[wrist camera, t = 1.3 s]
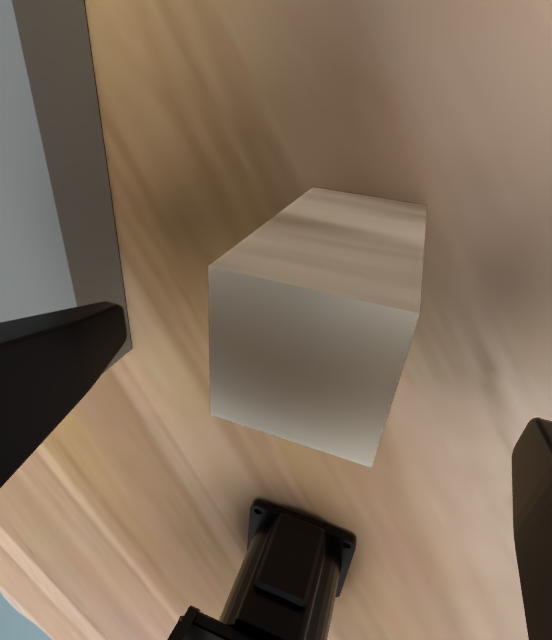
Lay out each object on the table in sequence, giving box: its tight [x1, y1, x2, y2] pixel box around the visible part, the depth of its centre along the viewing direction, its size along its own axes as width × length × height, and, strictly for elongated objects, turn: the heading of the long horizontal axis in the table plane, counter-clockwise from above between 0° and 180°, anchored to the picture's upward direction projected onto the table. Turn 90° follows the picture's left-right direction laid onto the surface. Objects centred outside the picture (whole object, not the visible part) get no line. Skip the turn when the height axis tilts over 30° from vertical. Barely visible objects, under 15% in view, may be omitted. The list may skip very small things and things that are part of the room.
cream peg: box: [208, 187, 427, 468], centre depth 11 cm, size 4×4×8 cm
